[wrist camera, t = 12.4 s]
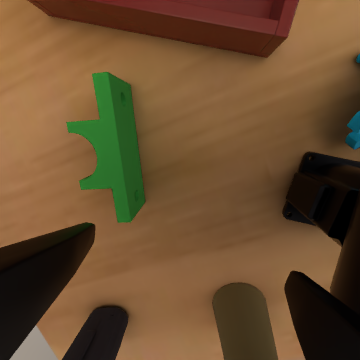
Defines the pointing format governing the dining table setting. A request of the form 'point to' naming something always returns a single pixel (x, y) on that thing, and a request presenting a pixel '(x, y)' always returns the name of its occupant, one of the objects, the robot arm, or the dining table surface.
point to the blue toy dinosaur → (354, 127)
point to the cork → (243, 323)
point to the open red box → (188, 20)
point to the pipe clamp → (114, 146)
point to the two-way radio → (99, 336)
